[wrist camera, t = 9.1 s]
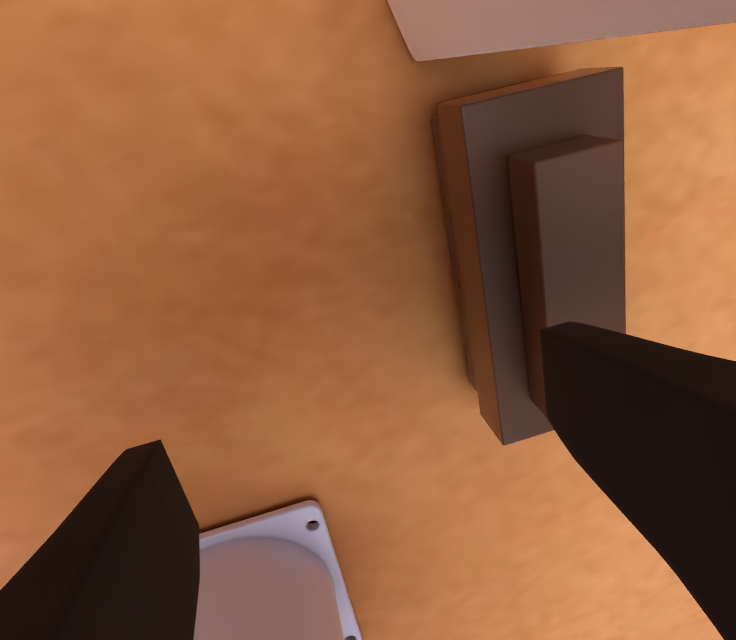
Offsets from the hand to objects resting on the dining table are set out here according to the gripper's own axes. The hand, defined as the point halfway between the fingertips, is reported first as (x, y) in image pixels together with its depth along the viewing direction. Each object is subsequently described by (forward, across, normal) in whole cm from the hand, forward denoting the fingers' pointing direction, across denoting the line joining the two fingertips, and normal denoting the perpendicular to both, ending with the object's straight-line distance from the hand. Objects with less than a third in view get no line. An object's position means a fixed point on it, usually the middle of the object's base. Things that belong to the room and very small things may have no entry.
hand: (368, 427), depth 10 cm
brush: (+9, -7, +1) cm, 12 cm away
